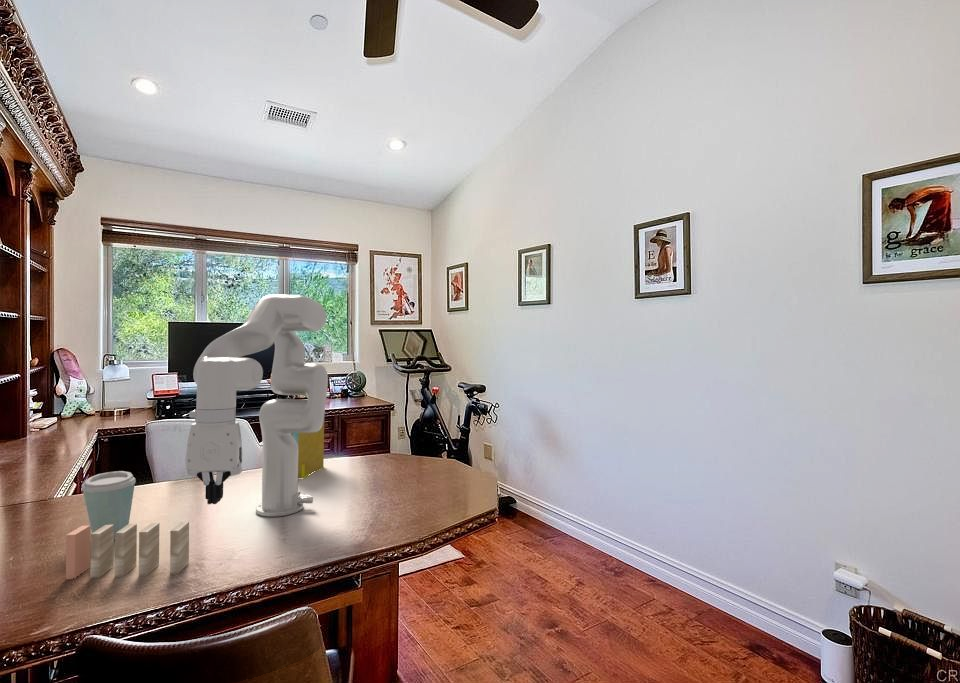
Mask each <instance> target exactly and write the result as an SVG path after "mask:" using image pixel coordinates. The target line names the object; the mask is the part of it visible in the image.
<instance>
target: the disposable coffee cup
mask: <svg viewBox="0 0 960 683" xmlns="http://www.w3.org/2000/svg"><path fill="white" fill-rule="evenodd" d="M136 483H137V479H136V478H135V477H134V475H133V474H132V472H130V471H124V470H118V471H117V470H116V471H109V472H108V471H107V472H103V473H98V474H95V475H93V476H90V477H88V478H87V479H86V480H85V481H84V483H83V484H82V485H81V491H82V492H83V496H84V497H83V498H84V501H85V506H86V511H87V515H88V521H89V524H90V525H91V534H92V533H93V532H95V531H97V530H98V529H100V528H101V527H103V526H105V525H114V541H115V533H116V532H118V531H119V530H121V529H122V528H124V527H125V526H127V525H128V524H130V519H131V518H130V517H131V511H132V503H133V499H134V491H135V484H136Z"/></svg>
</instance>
